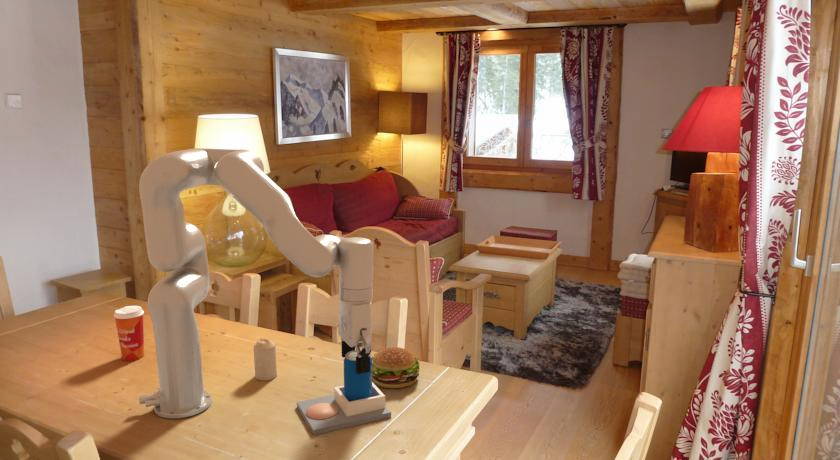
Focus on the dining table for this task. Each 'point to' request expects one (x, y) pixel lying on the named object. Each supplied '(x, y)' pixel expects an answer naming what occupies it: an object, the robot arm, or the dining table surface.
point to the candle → (265, 360)
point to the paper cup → (130, 332)
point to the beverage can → (356, 379)
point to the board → (342, 410)
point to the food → (394, 368)
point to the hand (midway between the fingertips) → (355, 364)
